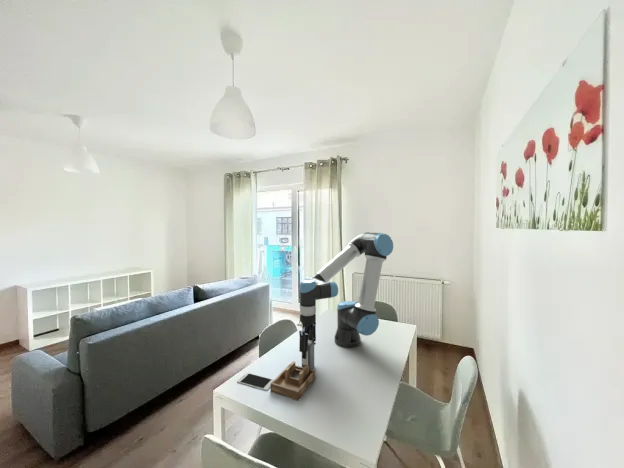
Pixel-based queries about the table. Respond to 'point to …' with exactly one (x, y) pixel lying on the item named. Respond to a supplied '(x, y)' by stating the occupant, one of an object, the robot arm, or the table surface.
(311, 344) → the grey rectangular block
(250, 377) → the smartphone
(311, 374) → the box
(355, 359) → the table surface
